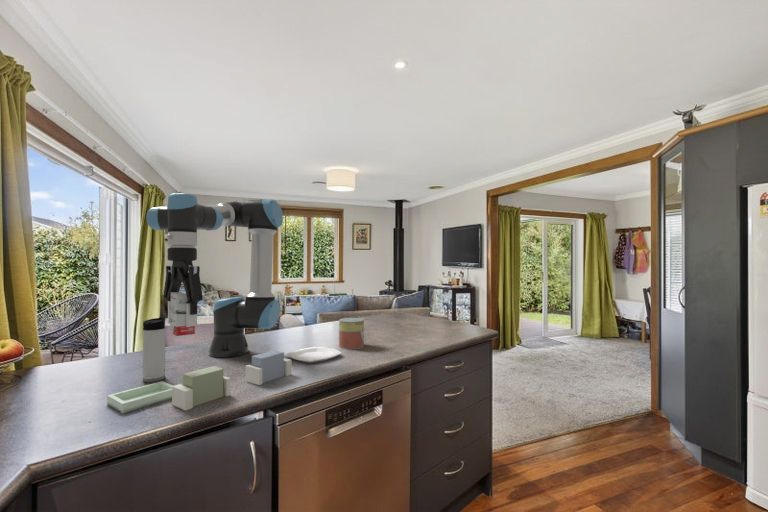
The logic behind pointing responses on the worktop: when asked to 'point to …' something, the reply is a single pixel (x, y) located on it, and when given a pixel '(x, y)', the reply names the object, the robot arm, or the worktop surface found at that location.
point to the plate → (314, 354)
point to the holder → (184, 395)
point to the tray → (140, 397)
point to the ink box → (179, 315)
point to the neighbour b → (270, 364)
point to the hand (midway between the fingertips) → (182, 324)
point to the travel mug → (154, 349)
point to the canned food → (351, 333)
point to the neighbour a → (205, 384)
